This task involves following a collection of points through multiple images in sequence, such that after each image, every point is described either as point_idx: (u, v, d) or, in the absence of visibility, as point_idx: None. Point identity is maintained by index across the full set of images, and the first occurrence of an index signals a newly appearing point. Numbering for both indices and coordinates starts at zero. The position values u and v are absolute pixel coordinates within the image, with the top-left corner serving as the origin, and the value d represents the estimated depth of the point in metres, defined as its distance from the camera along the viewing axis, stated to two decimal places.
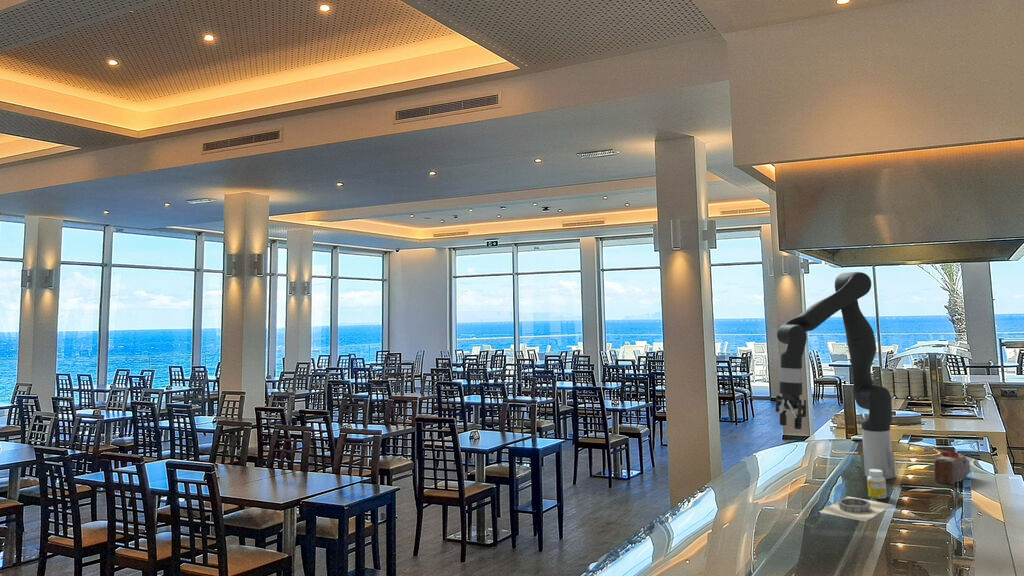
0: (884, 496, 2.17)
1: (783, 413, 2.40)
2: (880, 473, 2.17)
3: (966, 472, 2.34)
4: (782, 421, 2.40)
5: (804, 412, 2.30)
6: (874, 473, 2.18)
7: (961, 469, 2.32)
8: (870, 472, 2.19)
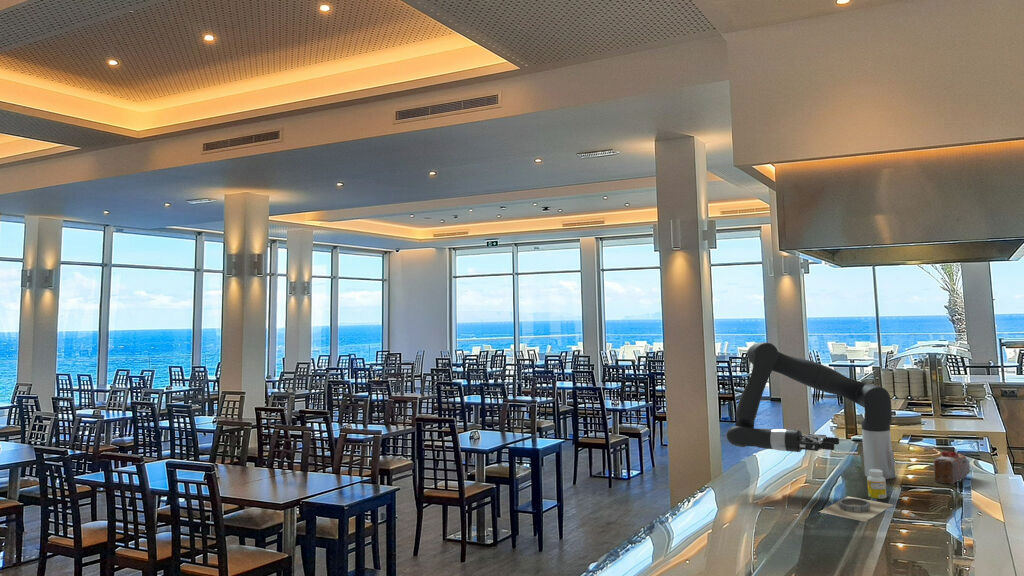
0: (884, 496, 2.17)
1: (825, 440, 2.32)
2: (880, 473, 2.17)
3: (966, 472, 2.34)
4: (834, 442, 2.30)
5: None
6: (874, 473, 2.18)
7: (961, 469, 2.32)
8: (870, 472, 2.19)
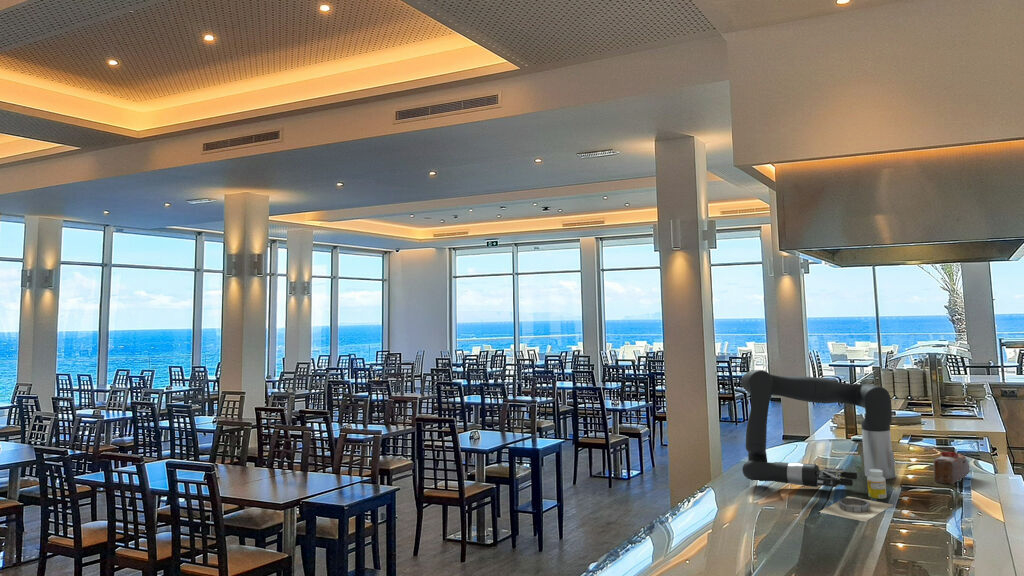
0: (884, 496, 2.17)
1: (843, 474, 2.29)
2: (880, 473, 2.17)
3: (966, 472, 2.34)
4: (852, 477, 2.27)
5: None
6: (874, 473, 2.18)
7: (961, 469, 2.32)
8: (870, 472, 2.19)
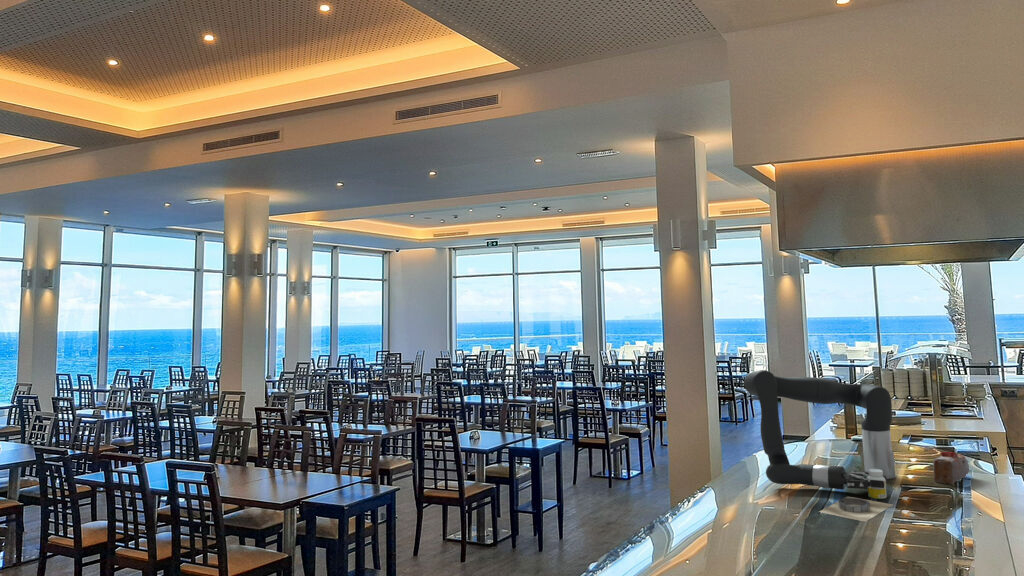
0: (884, 496, 2.17)
1: None
2: (880, 473, 2.17)
3: (965, 472, 2.34)
4: None
5: None
6: (874, 473, 2.18)
7: (960, 469, 2.32)
8: (870, 472, 2.19)
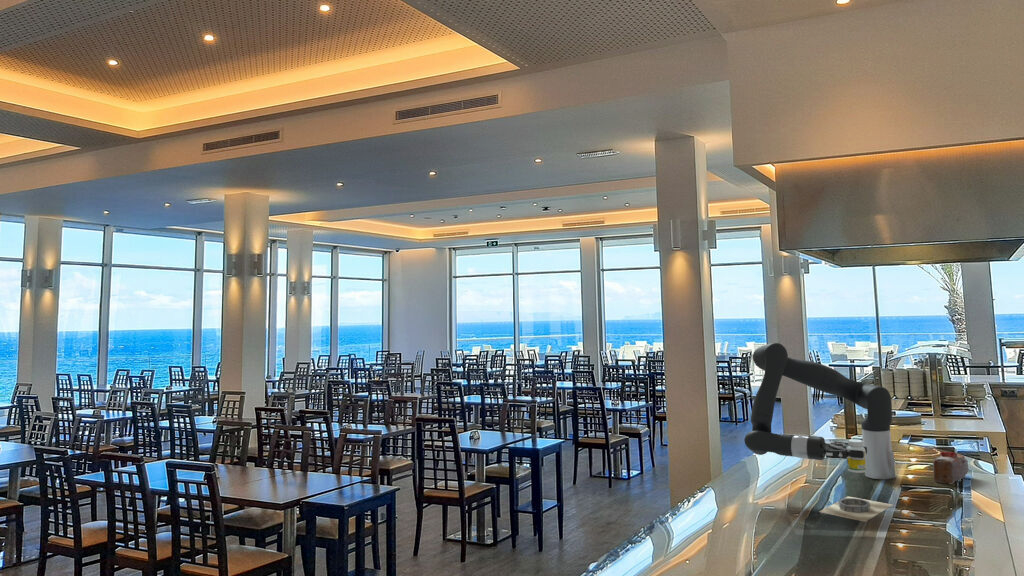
0: (863, 467, 2.10)
1: None
2: (860, 443, 2.11)
3: (965, 472, 2.34)
4: None
5: (840, 452, 2.10)
6: (854, 443, 2.11)
7: (960, 469, 2.32)
8: (850, 442, 2.13)
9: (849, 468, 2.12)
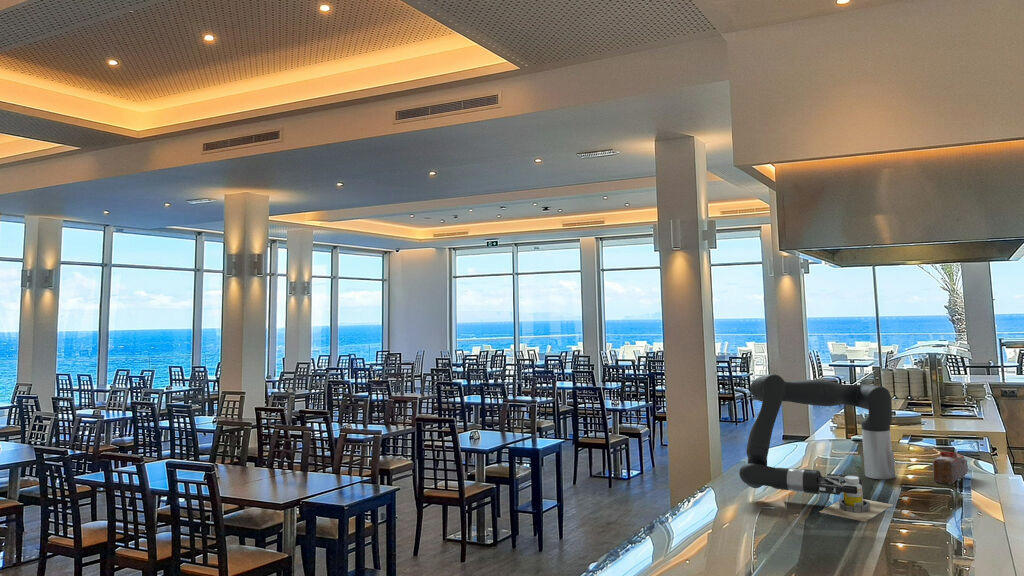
0: (860, 504, 2.07)
1: None
2: (856, 480, 2.08)
3: (964, 472, 2.34)
4: None
5: None
6: (850, 480, 2.08)
7: (960, 469, 2.32)
8: (846, 479, 2.09)
9: None
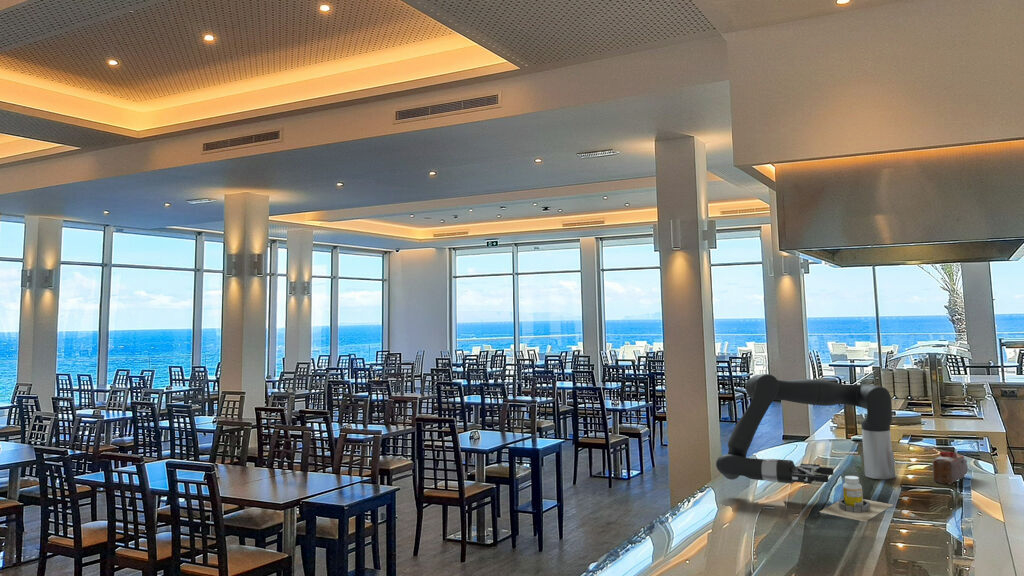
0: (860, 504, 2.07)
1: (819, 470, 2.20)
2: (856, 480, 2.08)
3: (964, 472, 2.34)
4: (828, 473, 2.19)
5: None
6: (850, 480, 2.08)
7: (959, 469, 2.32)
8: (846, 479, 2.09)
9: None
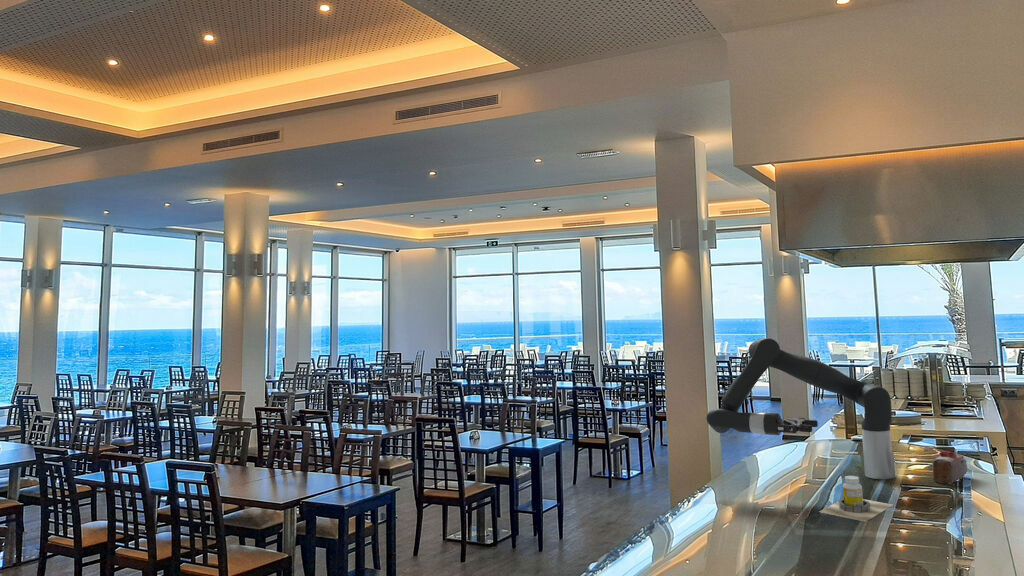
0: (860, 504, 2.07)
1: (804, 423, 2.31)
2: (856, 480, 2.08)
3: (964, 472, 2.34)
4: (813, 425, 2.29)
5: (790, 426, 2.24)
6: (850, 480, 2.08)
7: (959, 469, 2.32)
8: (846, 479, 2.09)
9: None
